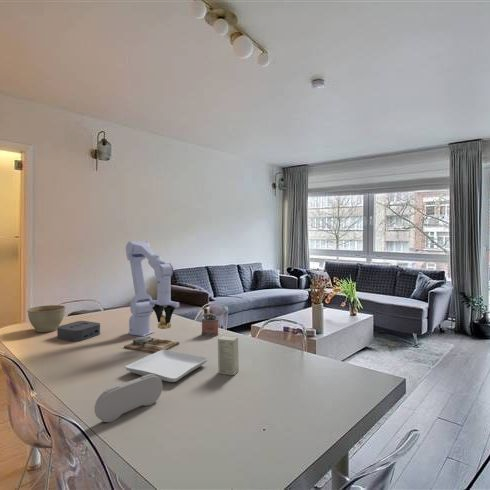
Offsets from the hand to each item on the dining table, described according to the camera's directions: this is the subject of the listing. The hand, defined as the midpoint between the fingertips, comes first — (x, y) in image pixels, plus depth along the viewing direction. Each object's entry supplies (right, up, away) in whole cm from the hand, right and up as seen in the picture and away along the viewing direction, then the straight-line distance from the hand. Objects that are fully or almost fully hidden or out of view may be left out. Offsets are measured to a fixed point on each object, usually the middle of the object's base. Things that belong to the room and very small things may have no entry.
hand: (164, 322), depth 155 cm
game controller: (+5, -12, -59) cm, 60 cm away
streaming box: (-42, -9, +10) cm, 44 cm away
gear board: (-4, -9, -4) cm, 11 cm away
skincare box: (+30, -11, -32) cm, 45 cm away
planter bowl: (-62, -8, +19) cm, 65 cm away
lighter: (+19, -9, +13) cm, 25 cm away
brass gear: (0, -2, 0) cm, 2 cm away
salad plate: (+8, -11, -30) cm, 33 cm away
